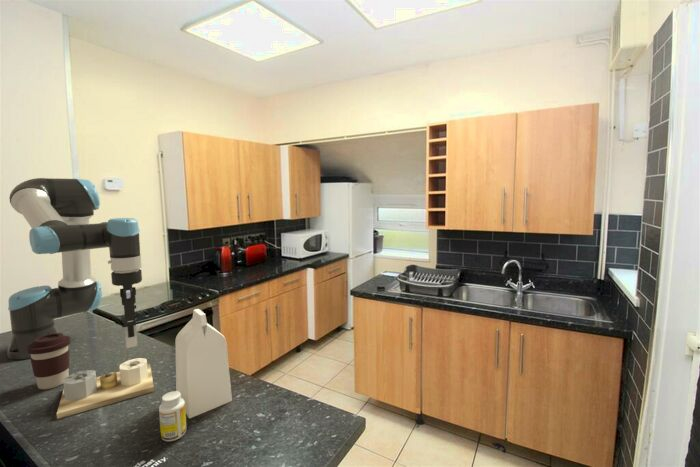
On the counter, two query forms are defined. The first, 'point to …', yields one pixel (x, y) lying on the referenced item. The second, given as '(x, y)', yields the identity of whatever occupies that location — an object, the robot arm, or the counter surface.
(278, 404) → the counter surface
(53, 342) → the coffee cup
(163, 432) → the supplement bottle
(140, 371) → the white octagonal block
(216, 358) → the milk
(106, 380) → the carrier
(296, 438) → the counter surface
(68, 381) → the seated gear
